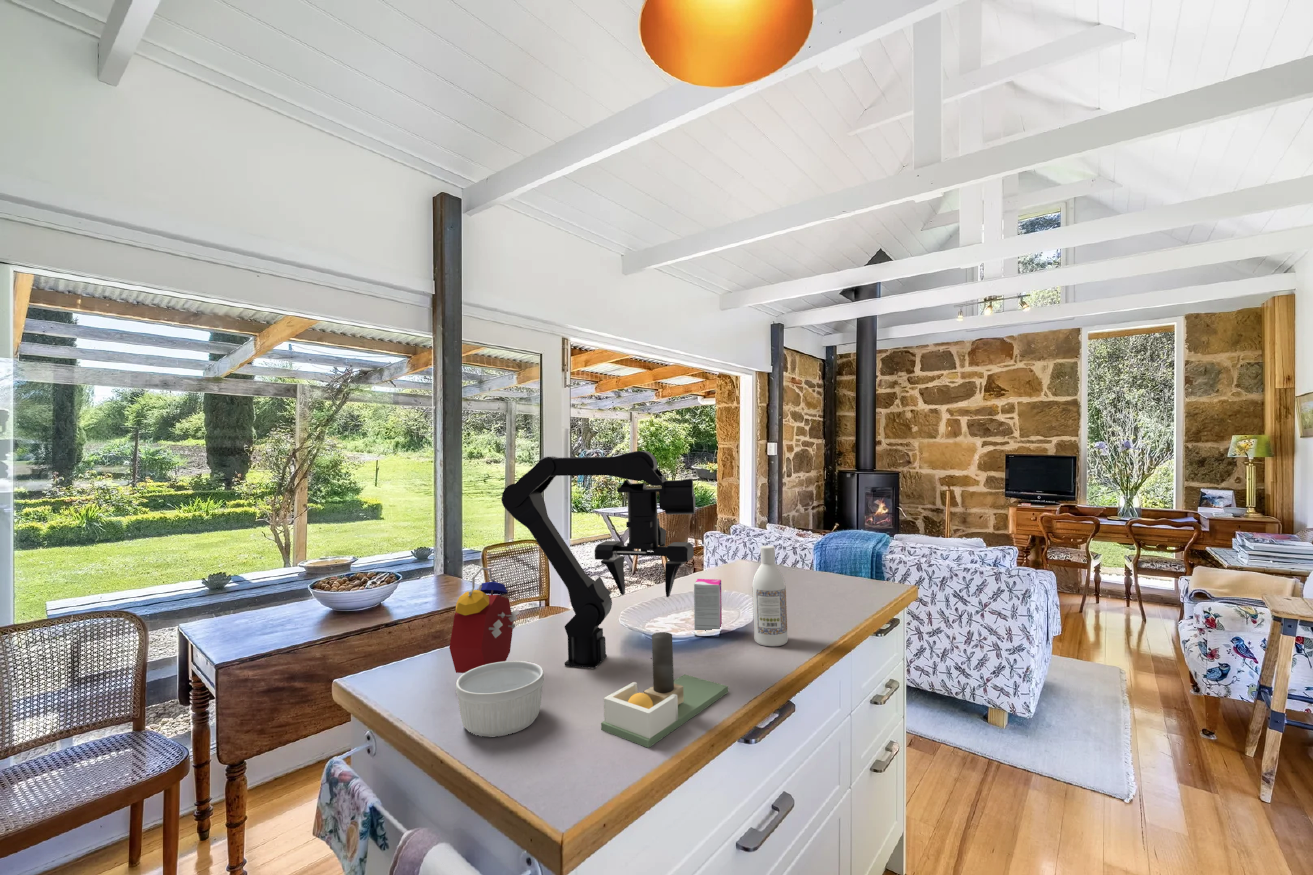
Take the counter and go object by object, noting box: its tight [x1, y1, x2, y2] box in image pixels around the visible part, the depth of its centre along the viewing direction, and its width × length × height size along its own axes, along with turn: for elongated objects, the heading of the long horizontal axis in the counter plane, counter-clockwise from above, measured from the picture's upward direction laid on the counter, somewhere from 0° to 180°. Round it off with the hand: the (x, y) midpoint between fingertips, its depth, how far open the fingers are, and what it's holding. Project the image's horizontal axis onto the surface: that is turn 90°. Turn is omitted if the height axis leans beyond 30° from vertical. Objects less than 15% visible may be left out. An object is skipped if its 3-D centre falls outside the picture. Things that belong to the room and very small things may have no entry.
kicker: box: [643, 631, 684, 706], centre depth 88 cm, size 4×5×11 cm
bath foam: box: [751, 545, 789, 647], centre depth 118 cm, size 7×7×20 cm
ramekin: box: [455, 660, 545, 737], centre depth 87 cm, size 13×13×7 cm
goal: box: [603, 681, 678, 739], centre depth 83 cm, size 9×7×4 cm
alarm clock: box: [449, 567, 521, 674], centre depth 105 cm, size 15×9×20 cm, turn 173°
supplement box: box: [693, 578, 723, 631], centre depth 125 cm, size 6×6×12 cm
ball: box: [628, 692, 653, 709], centre depth 83 cm, size 4×4×4 cm
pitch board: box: [600, 673, 729, 749], centre depth 88 cm, size 9×22×1 cm, turn 142°
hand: (645, 595), depth 108 cm, fingers open, 9 cm apart
